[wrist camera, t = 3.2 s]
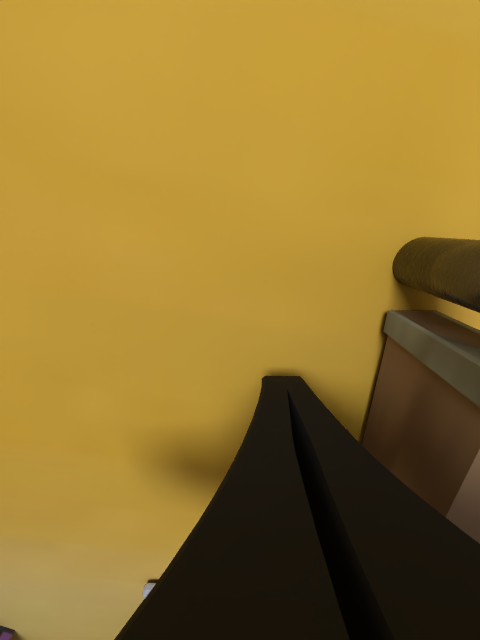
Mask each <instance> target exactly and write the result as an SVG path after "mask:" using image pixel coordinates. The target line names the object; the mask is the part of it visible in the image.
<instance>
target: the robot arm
mask: <svg viewBox="0 0 480 640" xmlns="http://www.w3.org/2000/svg"><path fill="white" fill-rule="evenodd" d="M143 595H144V598H145V599H144V600H143V602H142V603H141V604H140V606H139V607H138V608H137V610H136V611H135V612H134V614H133V615H132V617H131V618H130V619H129V621H128V622H127V623H126V625H125V626H124V627H123V629H122V630H121V631H120V633H119V634H118V635H117V637H116V638H115V639H114V640H480V544H479V543H478V542H477V541H475V540H474V539H473V538H471V537H470V536H469V535H467V534H466V533H465V532H464V531H462V530H461V529H460V528H458V527H457V526H456V525H455V524H453V523H452V522H451V521H450V520H448V519H447V518H446V517H445V516H443V515H442V514H441V513H439V512H438V511H437V510H436V509H434V508H433V507H432V506H431V505H429V504H428V503H427V502H425V501H424V500H423V499H422V498H421V497H419V496H418V495H417V494H416V493H415V492H413V491H412V490H411V489H410V488H409V487H407V486H406V485H405V484H404V483H403V482H402V481H400V480H399V479H398V478H397V477H396V476H395V475H394V474H392V473H391V472H390V471H389V470H388V469H387V468H386V467H384V466H383V465H382V464H381V463H380V462H379V461H378V460H377V459H376V458H375V457H373V456H372V455H371V454H370V453H369V452H368V451H367V450H366V449H365V448H364V447H363V446H362V445H361V444H360V443H359V442H358V441H357V440H356V439H355V438H354V437H353V436H352V435H351V434H350V433H349V432H348V431H347V430H346V429H345V428H344V427H343V426H342V425H341V423H340V422H339V421H338V420H337V419H336V418H335V417H334V416H333V415H332V414H331V412H330V411H329V410H328V409H327V408H326V407H325V406H324V405H323V403H322V402H321V401H320V400H319V399H318V397H317V396H316V395H315V394H314V393H313V391H312V390H311V389H310V388H309V387H308V385H307V384H306V383H305V382H304V380H303V379H302V378H301V377H300V376H265V377H263V378H262V388H261V393H260V397H259V401H258V404H257V407H256V410H255V413H254V416H253V419H252V421H251V424H250V426H249V429H248V431H247V433H246V436H245V438H244V440H243V443H242V445H241V447H240V449H239V451H238V453H237V455H236V457H235V459H234V461H233V463H232V465H231V467H230V469H229V470H228V472H227V474H226V476H225V478H224V480H223V481H222V483H221V485H220V486H219V488H218V490H217V492H216V493H215V495H214V497H213V498H212V500H211V502H210V504H209V505H208V507H207V508H206V510H205V512H204V513H203V515H202V516H201V518H200V520H199V521H198V523H197V524H196V526H195V527H194V529H193V530H192V532H191V533H190V535H189V536H188V538H187V539H186V540H185V542H184V543H183V545H182V546H181V548H180V549H179V551H178V552H177V554H176V555H175V557H174V558H173V560H172V561H171V563H170V564H169V566H168V567H167V569H166V570H165V572H164V573H163V574H162V576H161V577H160V579H159V580H158V581H157V583H147V584H146V585H145V586H144V590H143Z"/></svg>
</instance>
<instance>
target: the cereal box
mask: <svg viewBox="0 0 480 640" xmlns="http://www.w3.org/2000/svg"><path fill="white" fill-rule="evenodd" d="M14 631H15V630H12V629H9V628H6V627H3V626H0V640H10V638H11V636H12V635H13V633H14Z"/></svg>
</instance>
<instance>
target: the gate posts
mask: <svg viewBox="0 0 480 640" xmlns="http://www.w3.org/2000/svg"><path fill="white" fill-rule="evenodd" d="M393 272H394V275H395V277H396V279H397V280H398V281H399V282H400V283H402V284H404V285H407V286H409V287H412V288H415V289H417V290H420V291H423V292H425V293H428V294H431V295H433V296H436V297H439V298H441V299H444V300H447V301H450V302H452V303H455V304H458V305H460V306H463V307H466V308H468V309H471V310H474V311H476V312H479V313H480V240H469V239H451V238H433V237H421V238H417V239H414V240H412V241H410V242H408V243H407V244H406V245H404V246H403V247H402V248H401V249H400V251H399V252H398V253H397V255H396V257H395V260H394V263H393Z"/></svg>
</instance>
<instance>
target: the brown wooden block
mask: <svg viewBox="0 0 480 640" xmlns="http://www.w3.org/2000/svg"><path fill="white" fill-rule="evenodd" d="M383 332H385V333H386V334H387V335H388V338H387V342H386V346H385V350H384V354H383V358H382V363H381V367H380V371H379V375H378V379H377V383H376V388H375V392H374V396H373V400H372V404H371V408H370V412H369V417H368V421H367V425H366V429H365V433H364V437H363V442H362V446H363V447H364V448H365V449H366V450H367V451H368V452H369V453H370V454H371V455H372V456H373V457H375V458H376V459H377V460H378V461H379V462H380V463H381V464H382V465H383V466H384V467H386V468H387V469H388V470H389V471H390V472H391V473H392V474H394V475H395V476H396V477H397V478H398V479H399V480H400V481H402V482H403V483H404V484H405V485H406V486H407V487H409V488H410V489H411V490H412V491H413V492H415V493H416V494H417V495H418V496H419V497H421V498H422V499H423V500H424V501H425V502H427V503H428V504H429V505H431V506H432V507H433V508H434V509H436V510H437V511H438V512H439V513H441V514H442V515H443V516H445V517H446V518H447V519H448V520H450V521H451V522H452V523H453V524H455V525H456V526H457V527H458V528H460V529H461V530H462V531H464V532H465V533H466V534H467V535H469V536H470V537H471V538H473V539H474V540H475V541H477V542H478V543H479V544H480V330H478V329H475V328H473V327H471V326H469V325H466V324H464V323H462V322H460V321H458V320H455V319H453V318H451V317H449V316H447V315H444V314H442V313H440V312H438V311H388V313H387V318H386V322H385V326H384V331H383Z"/></svg>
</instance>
